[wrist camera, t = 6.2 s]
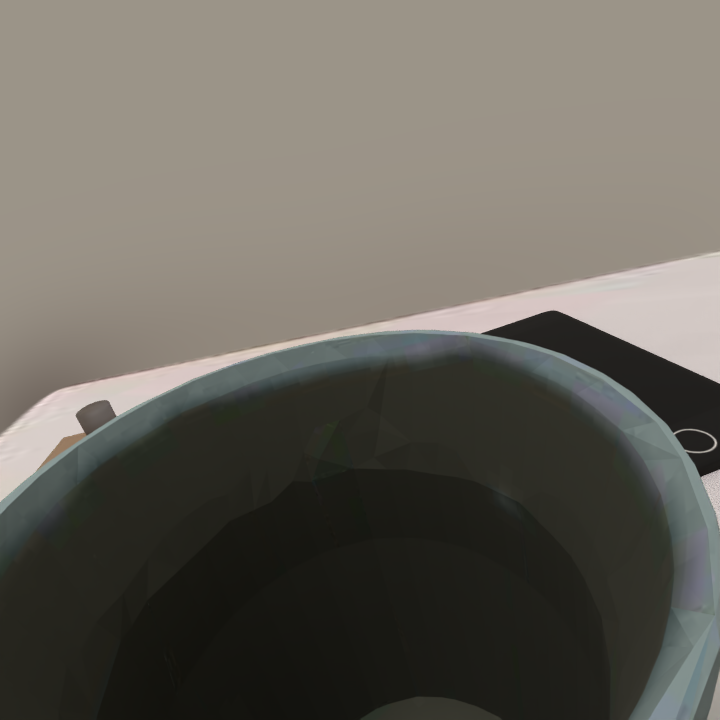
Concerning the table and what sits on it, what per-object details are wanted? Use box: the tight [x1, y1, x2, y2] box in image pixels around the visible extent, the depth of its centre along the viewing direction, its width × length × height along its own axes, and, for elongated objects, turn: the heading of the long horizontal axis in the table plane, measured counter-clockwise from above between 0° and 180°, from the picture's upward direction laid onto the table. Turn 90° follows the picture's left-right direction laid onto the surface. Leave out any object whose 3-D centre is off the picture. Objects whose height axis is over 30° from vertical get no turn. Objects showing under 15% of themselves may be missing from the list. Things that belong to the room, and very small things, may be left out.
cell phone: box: [481, 311, 720, 477], centre depth 29 cm, size 9×18×1 cm, turn 16°
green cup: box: [0, 330, 720, 720], centre depth 10 cm, size 10×10×12 cm
